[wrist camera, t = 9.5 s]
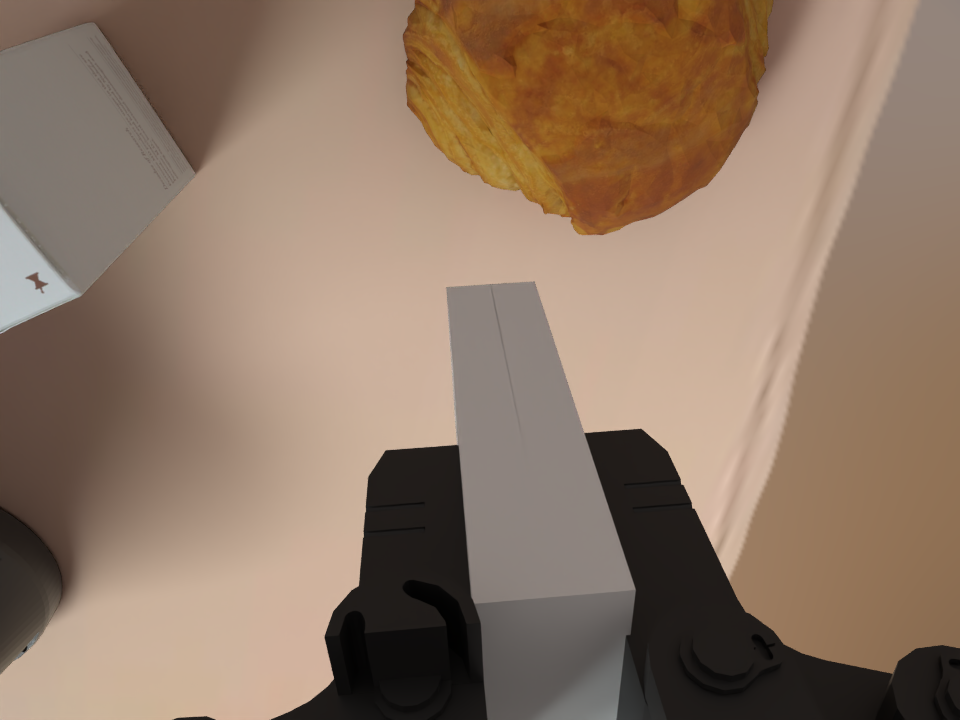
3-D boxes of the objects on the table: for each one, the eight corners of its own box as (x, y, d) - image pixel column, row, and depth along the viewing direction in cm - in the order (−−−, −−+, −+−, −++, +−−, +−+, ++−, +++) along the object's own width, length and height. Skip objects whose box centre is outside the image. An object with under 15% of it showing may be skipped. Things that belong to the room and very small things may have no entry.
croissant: (365, -45, 31) (313, -23, 24) (730, -243, 26) (789, -283, 20) (499, 241, 38) (486, 319, 31) (806, 125, 33) (868, 187, 26)
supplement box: (96, 15, 29) (-99, 75, 19) (201, 176, 33) (89, 302, 23) (-46, 89, 31) (-304, 185, 20) (71, 236, 35) (-95, 383, 24)
